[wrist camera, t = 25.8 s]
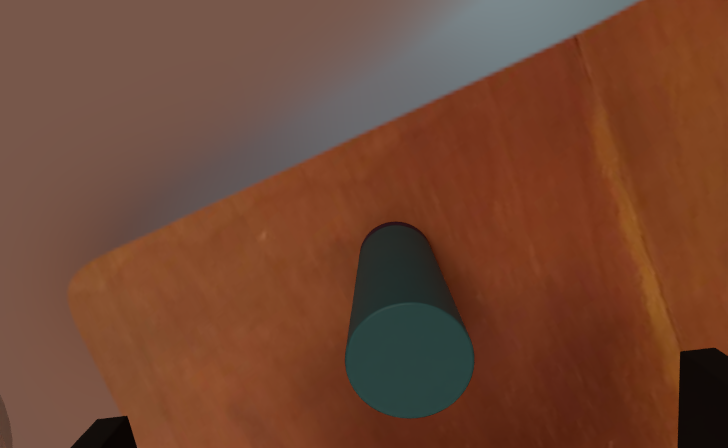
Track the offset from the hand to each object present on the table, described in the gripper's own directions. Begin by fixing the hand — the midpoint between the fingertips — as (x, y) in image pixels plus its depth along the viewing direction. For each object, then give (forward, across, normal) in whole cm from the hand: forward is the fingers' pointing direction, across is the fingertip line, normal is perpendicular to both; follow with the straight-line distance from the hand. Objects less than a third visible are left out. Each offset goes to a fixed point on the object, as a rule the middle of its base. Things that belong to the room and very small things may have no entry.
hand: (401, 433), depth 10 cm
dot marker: (+14, +1, 0) cm, 14 cm away
